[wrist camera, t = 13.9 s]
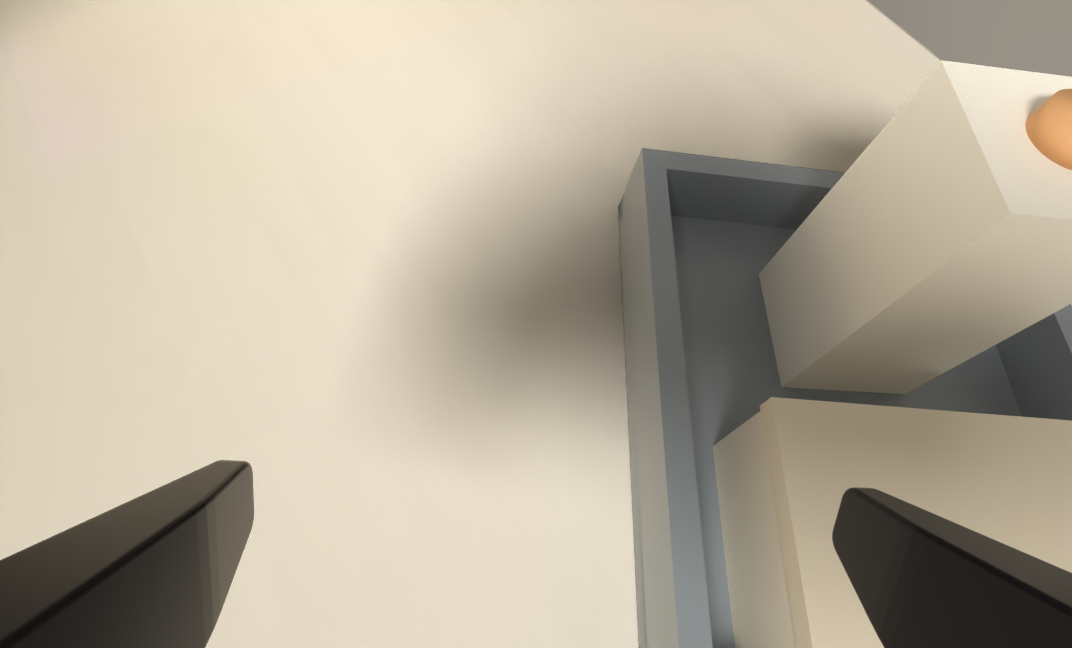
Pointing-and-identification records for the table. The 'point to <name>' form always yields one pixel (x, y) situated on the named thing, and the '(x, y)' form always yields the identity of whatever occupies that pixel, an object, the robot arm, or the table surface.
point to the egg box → (889, 466)
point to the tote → (745, 366)
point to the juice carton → (931, 237)
